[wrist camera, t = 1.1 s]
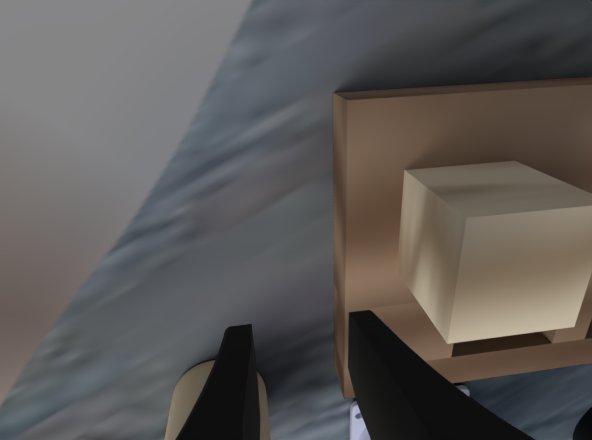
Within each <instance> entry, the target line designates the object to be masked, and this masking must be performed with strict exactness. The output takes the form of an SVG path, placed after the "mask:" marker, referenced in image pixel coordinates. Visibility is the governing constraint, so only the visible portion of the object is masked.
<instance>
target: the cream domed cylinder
mask: <svg viewBox="0 0 592 440" xmlns="http://www.w3.org/2000/svg"><path fill="white" fill-rule="evenodd" d="M214 362H215V360H212V361H208V362H204V363H201V364H199V365H197V366H195V367H193V368H191V369H190V370H188V371H187V372H186V373H185V374H184V375H183V376H182V377H181V378H180V380H179V381H178V383H177V385H176V388H175V390H174V394H173V398H172V403H171V408H170V413H169V419H168V424H167V429H166V435H165V440H175V439H176V437H177V436H178V434H179V432H180V431H181V429H182V427H183V425H184V424H185V422H186V420H187V418H188V416H189V414H190V412H191V411H192V409H193V407H194V405H195V403H196V401H197V399H198V397H199V395H200V393H201V391H202V389H203V387H204V385H205V383H206V380H207V378H208V376H209V374H210V372H211V369H212V367H213V365H214ZM257 377H258V389H259V403H260V440H270V427H269V415H268V403H267V394H266V388H265V384H264V381H263V379H262V377H261V376H260V375H259V373H258V372H257Z"/></svg>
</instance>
